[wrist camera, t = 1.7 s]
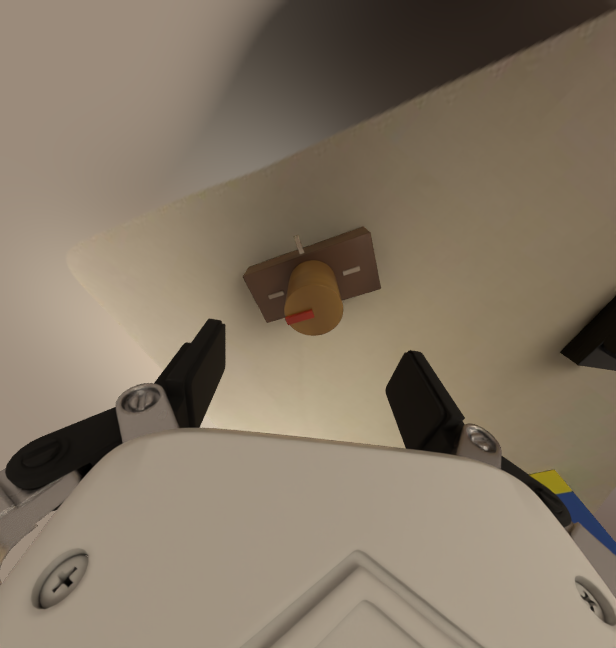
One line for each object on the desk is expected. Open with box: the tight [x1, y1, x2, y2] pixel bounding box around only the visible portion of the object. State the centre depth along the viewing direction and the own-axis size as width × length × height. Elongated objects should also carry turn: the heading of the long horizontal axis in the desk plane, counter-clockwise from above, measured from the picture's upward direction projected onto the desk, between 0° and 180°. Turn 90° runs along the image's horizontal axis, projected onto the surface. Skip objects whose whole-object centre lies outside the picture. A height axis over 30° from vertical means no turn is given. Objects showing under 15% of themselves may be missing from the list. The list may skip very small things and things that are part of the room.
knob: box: [284, 260, 343, 336], centre depth 18 cm, size 4×4×5 cm
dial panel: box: [243, 227, 381, 323], centre depth 21 cm, size 11×8×3 cm
